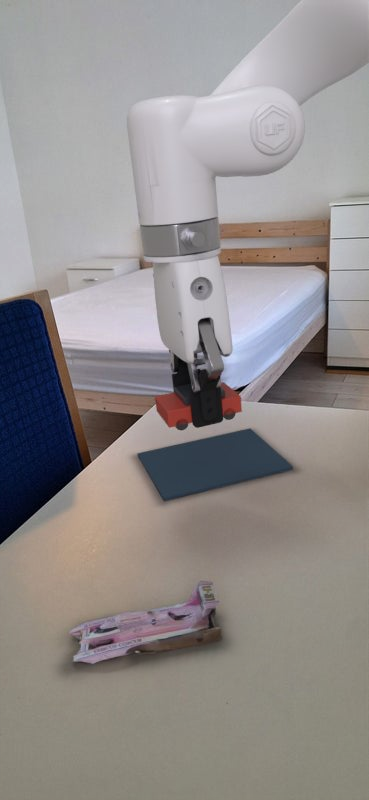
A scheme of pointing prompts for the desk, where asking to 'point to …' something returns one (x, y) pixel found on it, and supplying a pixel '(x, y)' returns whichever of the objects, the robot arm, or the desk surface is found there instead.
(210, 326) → the robot arm
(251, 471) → the mat
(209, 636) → the toy boat
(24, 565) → the desk surface
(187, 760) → the desk surface
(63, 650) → the desk surface
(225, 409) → the red toy vehicle
